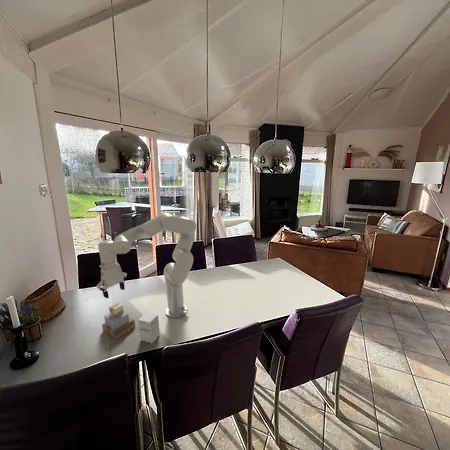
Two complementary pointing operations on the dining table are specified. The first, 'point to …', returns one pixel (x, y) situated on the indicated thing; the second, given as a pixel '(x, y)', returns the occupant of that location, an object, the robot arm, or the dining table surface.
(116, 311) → the ash cube
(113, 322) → the top block
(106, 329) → the base block
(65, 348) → the dining table surface
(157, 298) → the dining table surface
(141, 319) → the supplement box
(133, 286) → the dining table surface
